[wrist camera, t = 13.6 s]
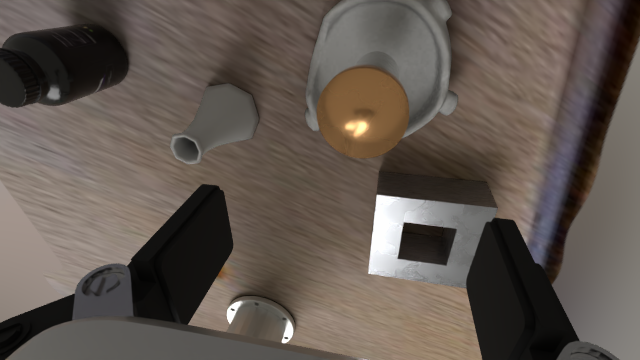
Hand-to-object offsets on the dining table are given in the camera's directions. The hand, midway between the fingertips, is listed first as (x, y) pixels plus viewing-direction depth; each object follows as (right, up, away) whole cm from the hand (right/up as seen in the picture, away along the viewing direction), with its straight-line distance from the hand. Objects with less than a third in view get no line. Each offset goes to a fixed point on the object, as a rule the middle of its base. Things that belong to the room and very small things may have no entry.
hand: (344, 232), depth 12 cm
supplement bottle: (-26, +17, +26) cm, 41 cm away
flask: (-11, +10, +27) cm, 31 cm away
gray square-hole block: (+12, -3, +29) cm, 32 cm away
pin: (+4, +11, +17) cm, 20 cm away
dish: (+5, +14, +21) cm, 26 cm away
